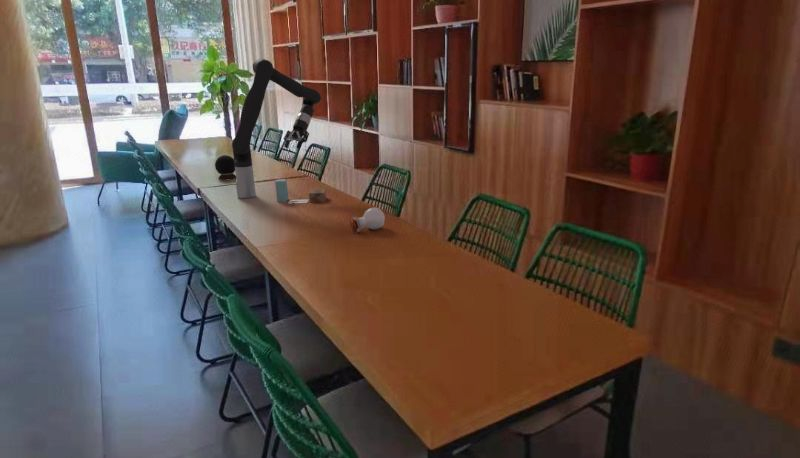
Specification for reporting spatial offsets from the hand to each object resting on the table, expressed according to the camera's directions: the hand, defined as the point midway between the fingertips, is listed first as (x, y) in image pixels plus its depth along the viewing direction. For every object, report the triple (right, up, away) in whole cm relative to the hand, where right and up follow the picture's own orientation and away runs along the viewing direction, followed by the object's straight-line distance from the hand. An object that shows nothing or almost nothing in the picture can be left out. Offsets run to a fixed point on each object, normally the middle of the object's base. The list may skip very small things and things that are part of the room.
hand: (291, 147), depth 279 cm
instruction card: (+5, -29, -6) cm, 30 cm away
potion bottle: (+45, -44, -57) cm, 85 cm away
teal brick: (-4, -28, -2) cm, 29 cm away
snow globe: (-55, -11, +60) cm, 82 cm away
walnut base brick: (+15, -29, -4) cm, 32 cm away
